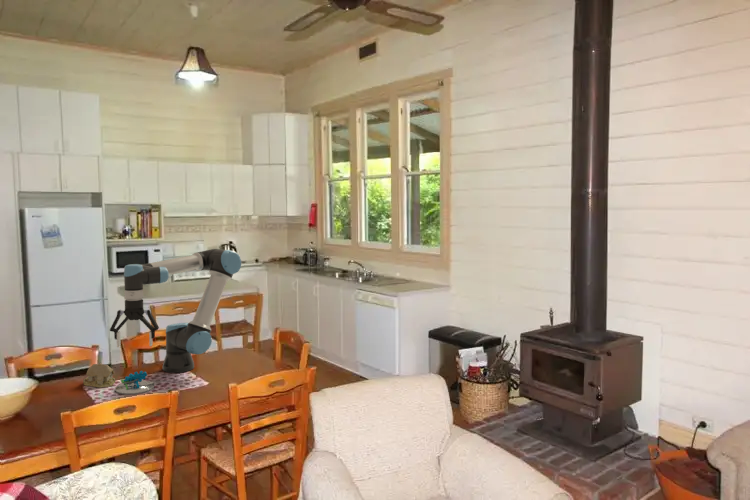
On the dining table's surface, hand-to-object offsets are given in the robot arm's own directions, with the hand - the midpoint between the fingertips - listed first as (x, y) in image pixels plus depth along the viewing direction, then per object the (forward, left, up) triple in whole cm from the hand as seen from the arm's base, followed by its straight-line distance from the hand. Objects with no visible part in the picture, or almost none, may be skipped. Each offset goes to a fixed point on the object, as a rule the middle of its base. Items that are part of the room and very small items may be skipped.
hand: (135, 346), depth 250 cm
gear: (+1, 0, -19) cm, 18 cm away
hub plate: (0, 0, -20) cm, 20 cm away
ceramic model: (-9, -18, -20) cm, 28 cm away
